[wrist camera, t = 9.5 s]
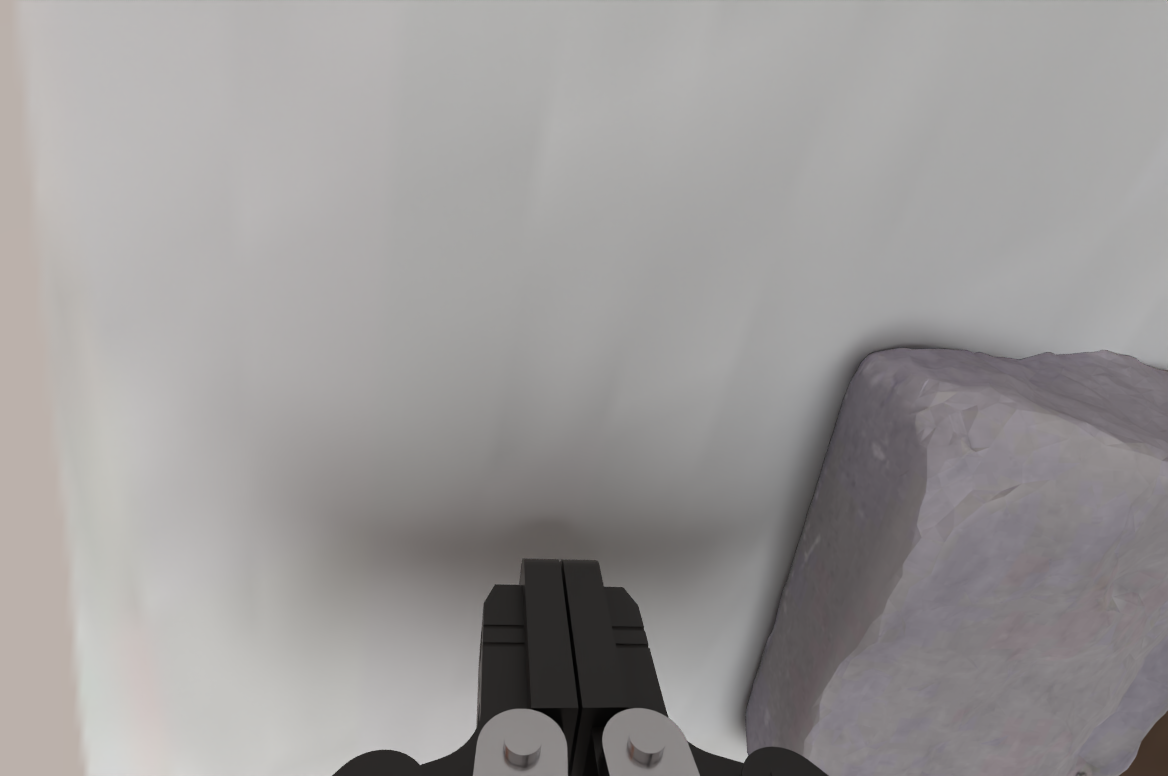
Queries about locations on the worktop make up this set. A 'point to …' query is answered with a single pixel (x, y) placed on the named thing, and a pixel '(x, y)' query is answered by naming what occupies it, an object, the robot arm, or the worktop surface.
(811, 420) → the worktop surface
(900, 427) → the stone block
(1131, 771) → the walnut wall board
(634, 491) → the worktop surface
